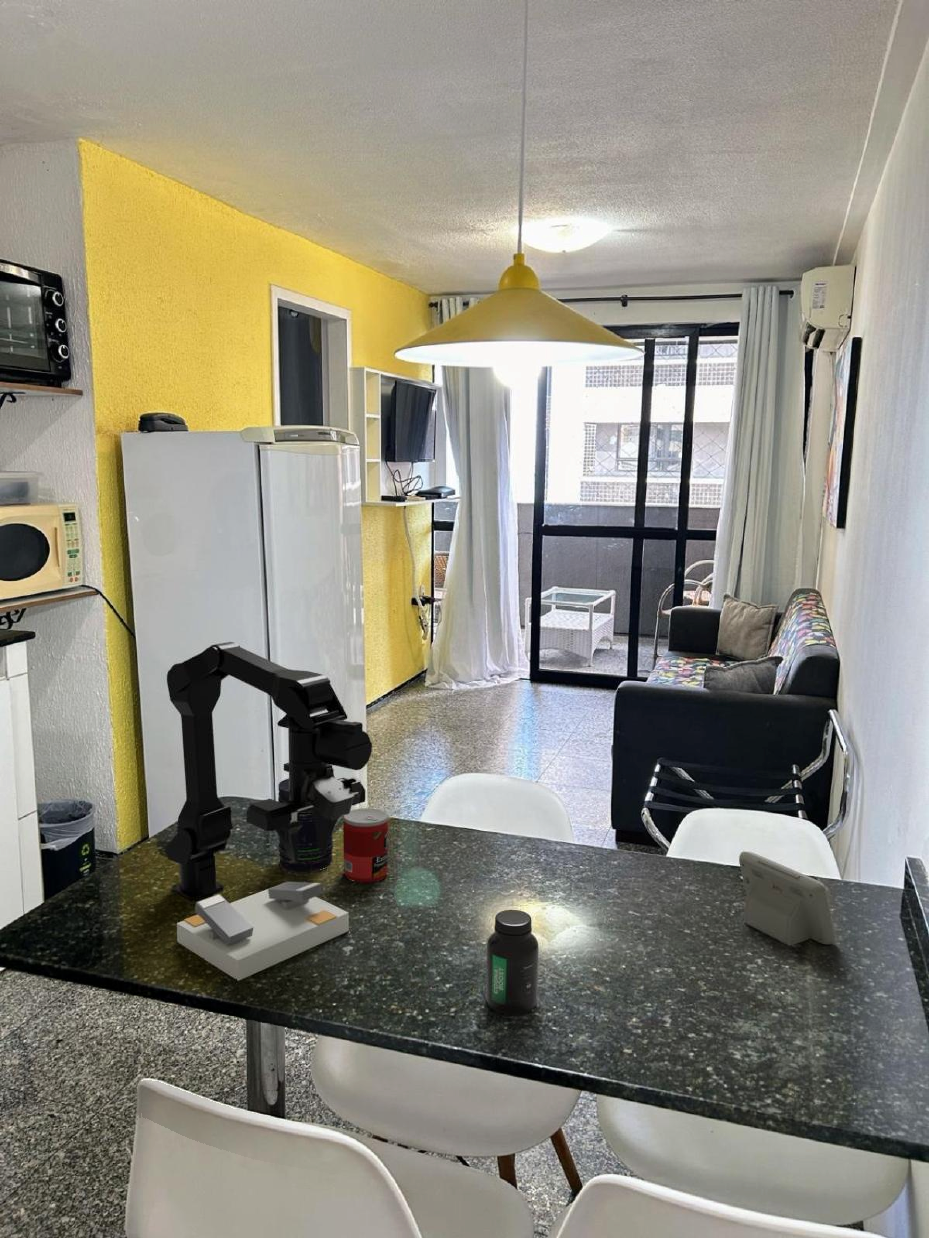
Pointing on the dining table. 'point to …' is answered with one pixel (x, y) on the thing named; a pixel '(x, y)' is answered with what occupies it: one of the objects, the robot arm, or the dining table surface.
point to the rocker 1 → (224, 919)
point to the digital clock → (785, 902)
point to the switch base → (265, 933)
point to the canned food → (365, 844)
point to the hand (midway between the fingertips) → (308, 856)
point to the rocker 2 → (296, 891)
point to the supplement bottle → (512, 964)
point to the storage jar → (304, 842)
